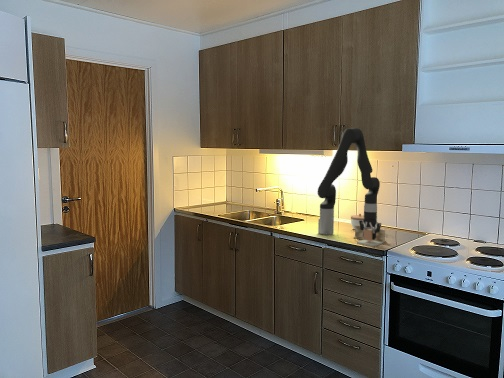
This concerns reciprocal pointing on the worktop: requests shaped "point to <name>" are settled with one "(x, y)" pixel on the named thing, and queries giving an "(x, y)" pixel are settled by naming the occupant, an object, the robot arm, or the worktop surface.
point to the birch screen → (379, 236)
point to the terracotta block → (368, 235)
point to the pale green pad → (369, 242)
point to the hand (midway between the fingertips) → (369, 238)
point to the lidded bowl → (356, 220)
